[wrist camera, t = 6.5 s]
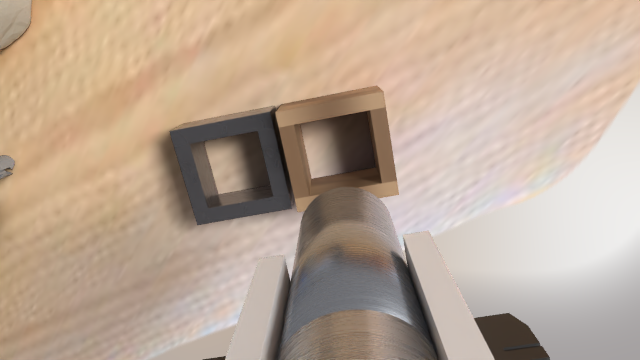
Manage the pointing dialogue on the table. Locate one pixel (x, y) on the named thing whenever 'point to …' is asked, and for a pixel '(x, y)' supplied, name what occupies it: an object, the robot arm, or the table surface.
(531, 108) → the table surface
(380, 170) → the open square brown box
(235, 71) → the table surface
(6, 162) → the mechanical component
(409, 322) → the dome-ended metal rod
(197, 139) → the socket
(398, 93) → the table surface
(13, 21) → the toy tool belt
